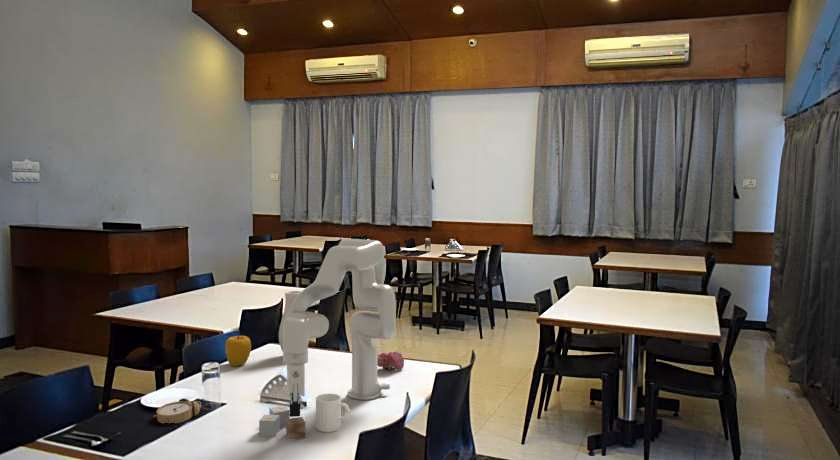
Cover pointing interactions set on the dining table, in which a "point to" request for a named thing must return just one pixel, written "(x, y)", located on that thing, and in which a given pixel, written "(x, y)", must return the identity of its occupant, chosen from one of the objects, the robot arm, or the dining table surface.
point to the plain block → (295, 428)
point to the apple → (237, 350)
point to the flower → (391, 360)
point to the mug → (329, 412)
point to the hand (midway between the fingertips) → (294, 415)
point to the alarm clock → (178, 411)
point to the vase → (288, 301)
